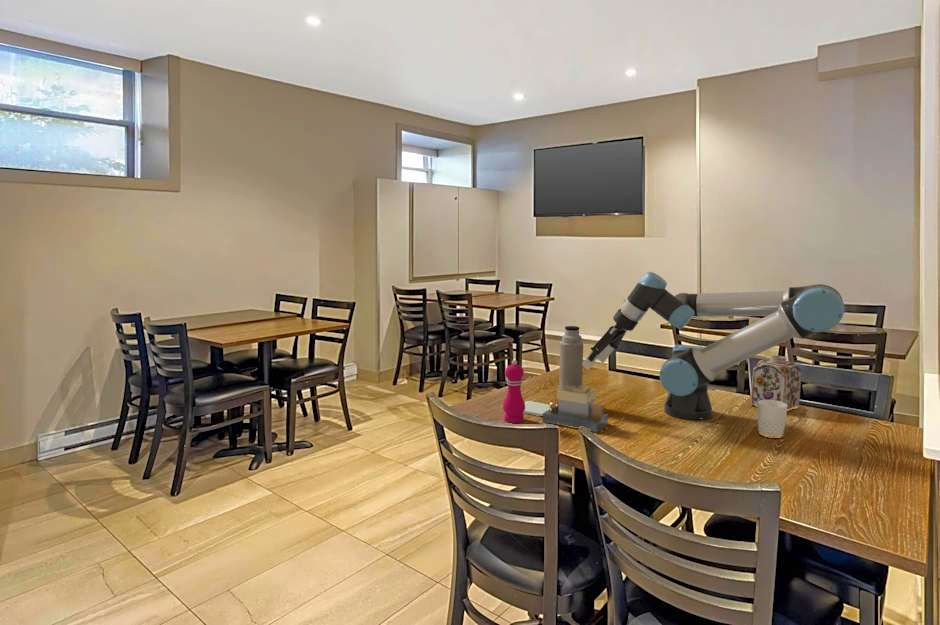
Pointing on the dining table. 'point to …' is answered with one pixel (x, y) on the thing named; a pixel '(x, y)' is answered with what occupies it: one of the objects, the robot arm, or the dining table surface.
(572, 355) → the thermos bottle
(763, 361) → the decorative jar
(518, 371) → the pepper mill
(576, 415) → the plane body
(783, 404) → the white cup
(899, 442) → the dining table surface
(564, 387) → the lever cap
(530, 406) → the rubber mat
